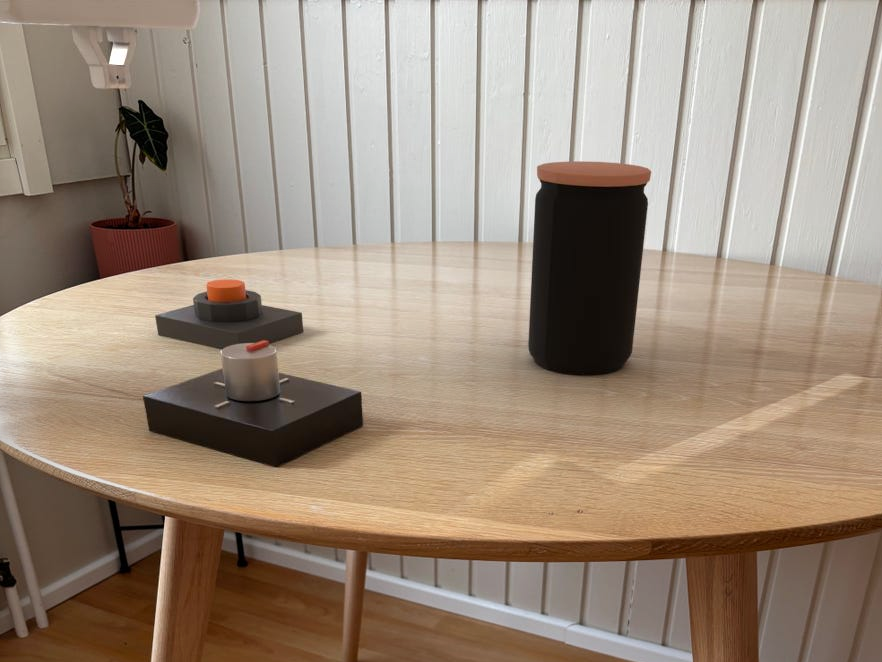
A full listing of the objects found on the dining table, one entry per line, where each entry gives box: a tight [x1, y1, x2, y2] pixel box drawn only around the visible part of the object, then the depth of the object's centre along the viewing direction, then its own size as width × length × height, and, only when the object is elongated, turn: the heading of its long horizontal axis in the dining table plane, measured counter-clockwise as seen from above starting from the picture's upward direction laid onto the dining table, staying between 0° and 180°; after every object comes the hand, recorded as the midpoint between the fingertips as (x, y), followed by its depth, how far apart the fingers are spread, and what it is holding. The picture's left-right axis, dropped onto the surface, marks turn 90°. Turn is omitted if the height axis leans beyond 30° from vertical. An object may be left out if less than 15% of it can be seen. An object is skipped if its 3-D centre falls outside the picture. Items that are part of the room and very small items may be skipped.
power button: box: [205, 278, 246, 302], centre depth 100 cm, size 4×4×2 cm
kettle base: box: [154, 289, 304, 351], centre depth 102 cm, size 12×10×4 cm
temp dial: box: [220, 340, 280, 401], centre depth 76 cm, size 4×4×4 cm
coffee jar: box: [527, 160, 652, 376], centre depth 92 cm, size 11×11×18 cm
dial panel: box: [142, 367, 364, 468], centre depth 78 cm, size 14×11×3 cm
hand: (112, 88), depth 84 cm, fingers closed
